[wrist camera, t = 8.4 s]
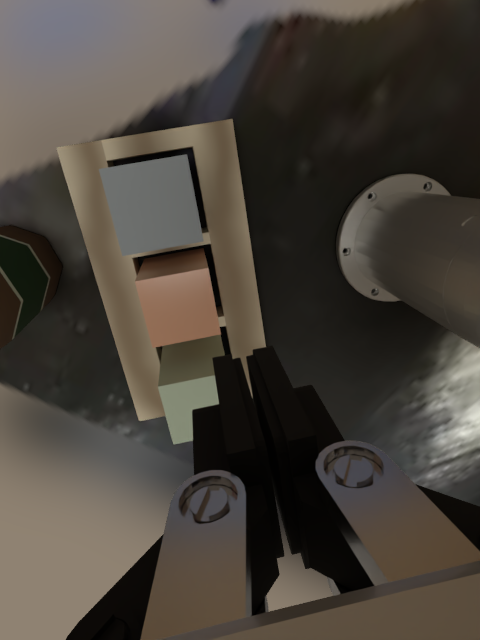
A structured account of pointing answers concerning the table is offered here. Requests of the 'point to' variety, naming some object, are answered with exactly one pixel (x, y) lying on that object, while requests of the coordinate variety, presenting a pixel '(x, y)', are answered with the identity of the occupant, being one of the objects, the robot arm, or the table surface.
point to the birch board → (121, 271)
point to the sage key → (188, 382)
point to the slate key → (152, 204)
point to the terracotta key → (177, 298)
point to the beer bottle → (24, 279)
